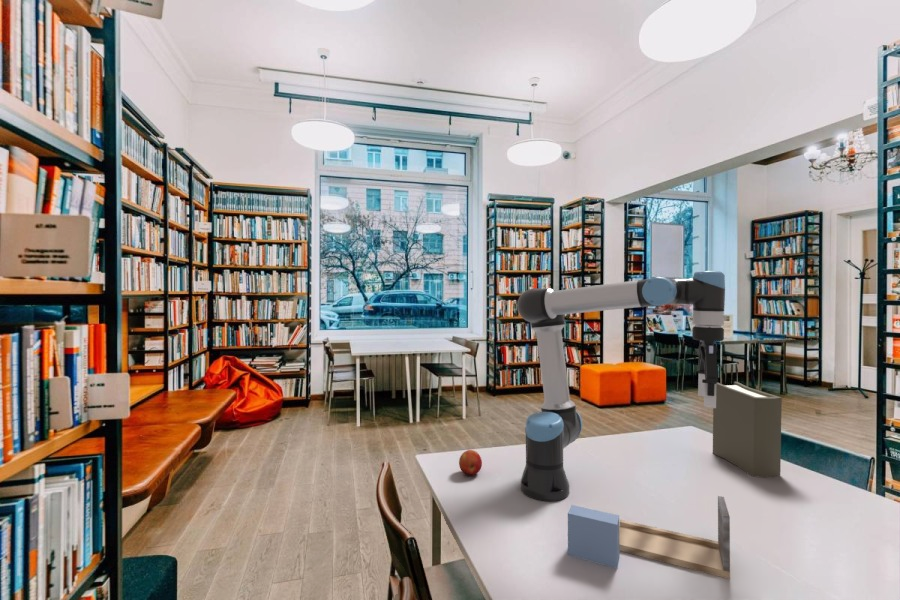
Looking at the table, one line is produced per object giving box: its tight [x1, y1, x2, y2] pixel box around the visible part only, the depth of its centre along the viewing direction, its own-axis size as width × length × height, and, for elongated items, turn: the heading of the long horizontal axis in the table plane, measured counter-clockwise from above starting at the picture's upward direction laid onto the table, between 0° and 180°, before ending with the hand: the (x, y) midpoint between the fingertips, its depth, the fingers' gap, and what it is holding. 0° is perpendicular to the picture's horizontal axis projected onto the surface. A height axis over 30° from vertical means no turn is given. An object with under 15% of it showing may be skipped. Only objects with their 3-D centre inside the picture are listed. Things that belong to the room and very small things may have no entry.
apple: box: [458, 449, 483, 477], centre depth 143 cm, size 8×8×8 cm
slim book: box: [567, 504, 620, 570], centre depth 97 cm, size 11×4×10 cm, turn 62°
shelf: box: [619, 495, 731, 580], centre depth 99 cm, size 23×10×14 cm, turn 62°
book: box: [712, 381, 783, 478], centre depth 149 cm, size 22×9×28 cm, turn 2°
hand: (706, 401), depth 116 cm, fingers open, 13 cm apart
